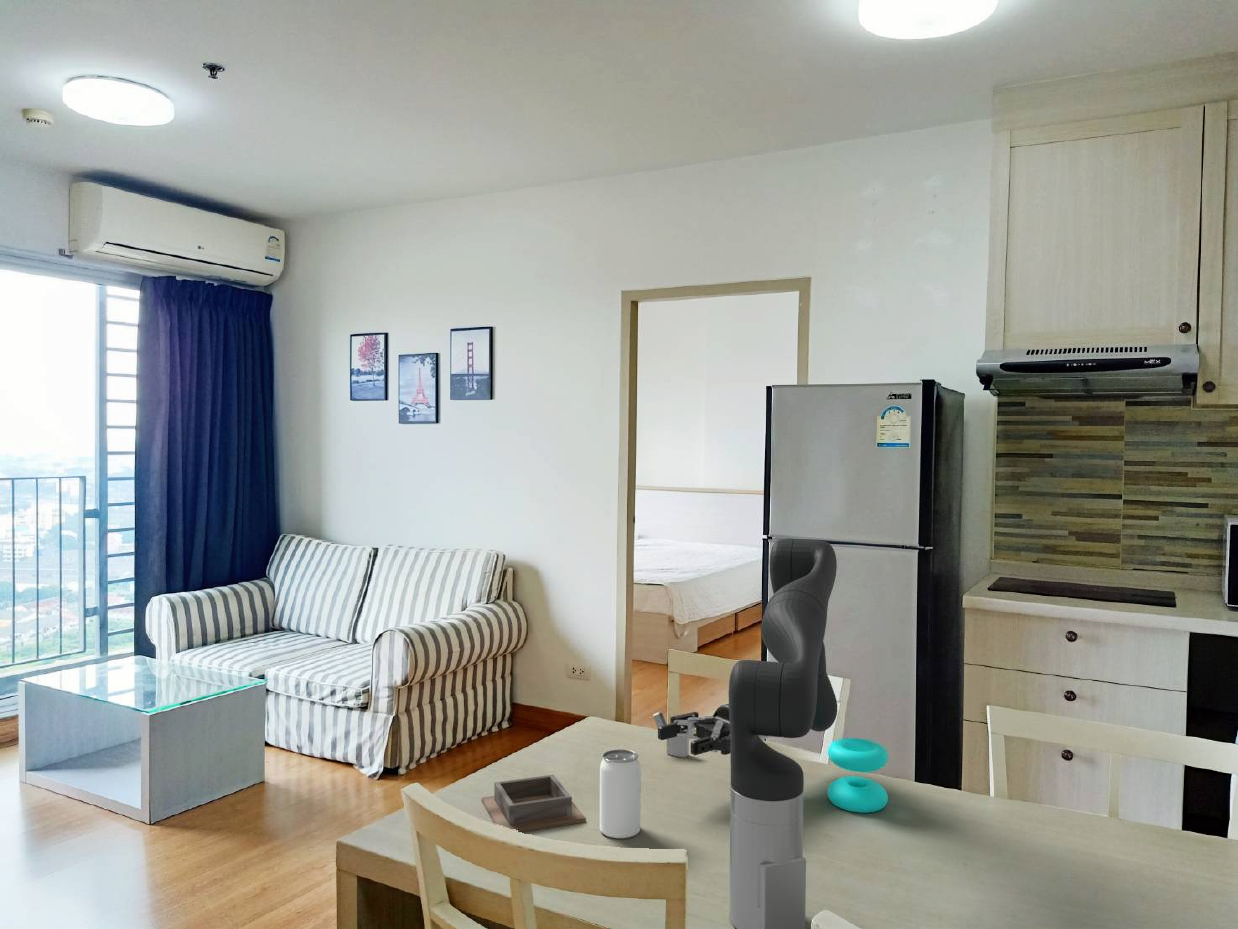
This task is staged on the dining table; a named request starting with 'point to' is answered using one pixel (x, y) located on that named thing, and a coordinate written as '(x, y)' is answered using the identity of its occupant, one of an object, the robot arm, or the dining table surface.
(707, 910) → the dining table surface
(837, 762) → the donuts
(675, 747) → the lighter
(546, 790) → the can stand
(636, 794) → the can
